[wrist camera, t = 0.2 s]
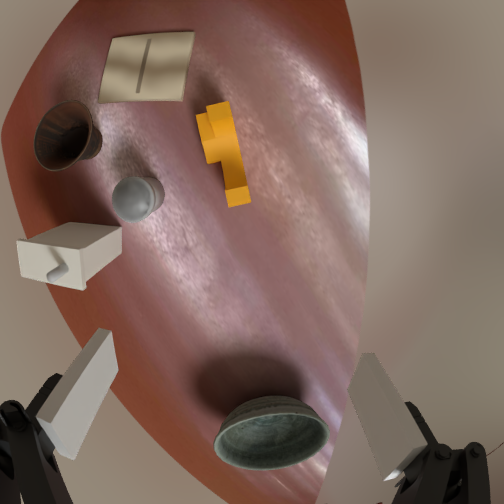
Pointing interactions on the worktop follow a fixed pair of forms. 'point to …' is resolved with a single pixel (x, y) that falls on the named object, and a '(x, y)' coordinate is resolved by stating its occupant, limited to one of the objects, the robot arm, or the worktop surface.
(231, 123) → the yellow shaft support bracket
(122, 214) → the grey knob
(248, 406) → the bowl
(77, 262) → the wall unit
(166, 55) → the board
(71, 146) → the cup
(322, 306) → the worktop surface
